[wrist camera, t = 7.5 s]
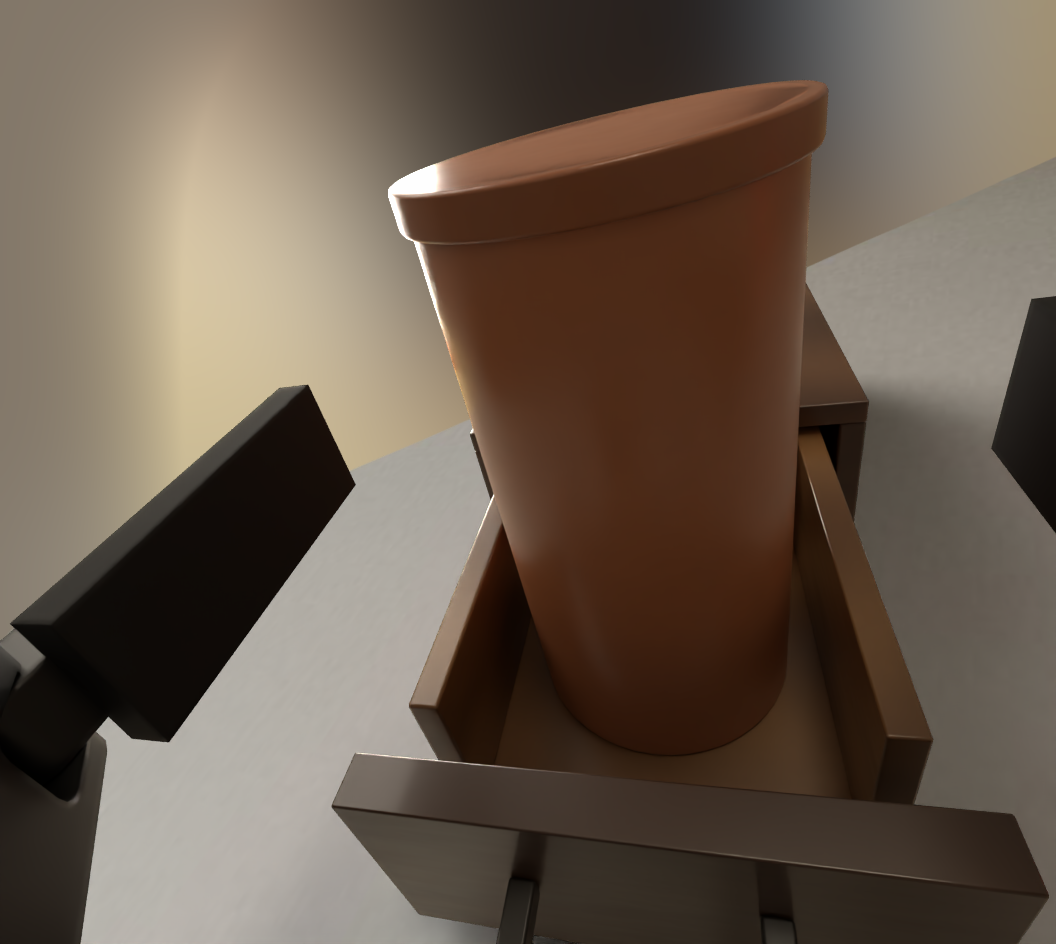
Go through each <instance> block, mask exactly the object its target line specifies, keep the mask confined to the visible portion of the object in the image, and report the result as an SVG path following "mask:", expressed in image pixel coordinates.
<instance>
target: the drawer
mask: <svg viewBox="0 0 1056 944" xmlns="http://www.w3.org/2000/svg"><path fill="white" fill-rule="evenodd" d="M409 708H410V710H411V712H412V713H413V715H414V717H415V719H416V721H417V722H418V724H419V726H420V728H421V730H422V731H423V733H424V735H425V737H426V738H427V740H428V742H429V744H430V746H431V747H432V749H433V751H434V753H435V755H436V756H437V758H438V760H429V759H419V758H408V757H397V756H386V755H376V754H365V753H355V755H354V757H353V759H352V761H351V764H350V766H349V768H348V770H347V772H346V775H345V777H344V779H343V781H342V784H341V786H340V788H339V790H338V792H337V795H336V797H335V799H334V801H333V804H332V808H333V810H334V811H335V812H336V813H337V814H338V816H339V817H340V818H341V819H342V821H343V822H344V823H345V824H346V825H347V827H348V828H349V829H350V830H351V832H352V833H353V834H354V835H355V836H356V838H357V839H358V840H359V841H360V843H361V844H362V845H363V846H364V848H365V849H366V850H367V851H368V852H369V854H370V855H371V856H372V857H373V859H374V860H375V861H376V862H377V863H378V865H379V866H380V867H381V868H382V870H383V871H384V872H385V873H386V874H387V876H388V877H389V878H390V879H391V881H392V882H393V883H394V884H395V885H396V887H397V888H398V889H399V890H400V892H401V893H402V894H403V895H404V896H405V898H406V899H407V900H408V901H409V903H410V904H411V905H412V906H413V908H414V909H415V910H416V911H417V912H418V914H420V915H425V916H431V917H436V918H442V919H447V920H453V921H459V922H464V923H470V924H475V925H481V926H486V927H492V928H498V929H499V932H498V937H497V942H496V944H532V941H533V935H537V936H542V937H548V938H553V939H559V940H564V941H570V942H576V943H581V944H1018V943H1019V941H1020V940H1021V939H1022V937H1023V936H1024V934H1025V933H1026V931H1027V930H1028V928H1029V927H1030V925H1031V924H1032V923H1033V921H1034V920H1035V918H1036V917H1037V915H1038V914H1039V912H1040V911H1041V909H1042V908H1043V906H1044V905H1045V904H1046V902H1047V901H1048V899H1049V894H1048V892H1047V889H1046V887H1045V885H1044V882H1043V880H1042V878H1041V875H1040V873H1039V871H1038V869H1037V866H1036V864H1035V862H1034V859H1033V857H1032V855H1031V852H1030V850H1029V848H1028V846H1027V843H1026V841H1025V839H1024V836H1023V834H1022V832H1021V829H1020V827H1019V825H1018V823H1017V820H1016V818H1015V816H1014V815H1013V814H1008V813H997V812H986V811H976V810H965V809H954V808H944V807H933V806H922V805H914V802H915V799H916V796H917V793H918V789H919V786H920V783H921V779H922V776H923V773H924V769H925V766H926V763H927V760H928V756H929V753H930V750H931V746H932V743H933V737H932V734H931V732H930V729H929V726H928V723H927V721H926V718H925V715H924V713H923V710H922V707H921V704H920V702H919V699H918V696H917V693H916V691H915V688H914V685H913V683H912V680H911V677H910V674H909V672H908V669H907V666H906V663H905V661H904V658H903V655H902V653H901V650H900V647H899V644H898V642H897V639H896V636H895V633H894V631H893V628H892V625H891V623H890V620H889V617H888V614H887V612H886V609H885V606H884V603H883V601H882V598H881V595H880V593H879V590H878V587H877V584H876V582H875V579H874V576H873V573H872V571H871V568H870V565H869V563H868V560H867V557H866V554H865V552H864V549H863V546H862V543H861V541H860V538H859V535H858V533H857V530H856V527H855V524H854V522H853V519H852V516H851V513H850V511H849V508H848V505H847V503H846V500H845V497H844V494H843V492H842V489H841V486H840V483H839V481H838V478H837V475H836V473H835V470H834V467H833V464H832V462H831V459H830V456H829V453H828V451H827V448H826V445H825V443H824V440H823V437H822V434H821V432H820V429H819V426H806V427H799V428H798V448H797V469H796V490H795V511H794V532H793V552H792V573H791V594H790V615H789V636H788V656H787V669H786V676H785V680H784V683H783V686H782V689H781V692H780V694H779V696H778V698H777V700H776V702H775V703H774V705H773V706H772V708H771V709H770V710H769V712H768V713H767V714H766V715H765V717H764V718H763V719H762V720H760V721H759V722H758V723H757V724H756V725H755V726H754V727H753V728H752V729H750V730H749V731H747V732H746V733H744V734H743V735H742V736H740V737H739V738H737V739H735V740H733V741H731V742H729V743H727V744H725V745H722V746H719V747H716V748H713V749H710V750H707V751H703V752H697V753H692V754H684V755H657V754H649V753H643V752H638V751H634V750H630V749H627V748H624V747H621V746H618V745H616V744H614V743H612V742H609V741H607V740H605V739H603V738H601V737H600V736H598V735H597V734H595V733H594V732H592V731H590V730H589V729H588V728H586V727H585V726H584V725H583V724H582V723H580V722H579V721H578V720H577V719H576V718H575V717H574V716H573V715H572V713H571V712H570V711H569V710H568V709H567V708H566V706H565V705H564V703H563V702H562V700H561V699H560V697H559V695H558V693H557V691H556V689H555V687H554V684H553V681H552V678H551V675H550V671H549V668H548V665H547V662H546V659H545V656H544V652H543V649H542V646H541V643H540V640H539V636H538V633H537V630H536V627H535V624H534V621H533V617H532V614H531V611H530V608H529V605H528V602H527V598H526V595H525V592H524V589H523V586H522V582H521V579H520V576H519V573H518V570H517V567H516V563H515V560H514V557H513V554H512V551H511V547H510V544H509V541H508V538H507V535H506V532H505V528H504V525H503V522H502V519H501V516H500V512H499V509H498V506H497V503H496V500H495V497H494V494H493V497H492V499H491V502H490V504H489V507H488V509H487V512H486V514H485V517H484V519H483V522H482V524H481V527H480V529H479V532H478V534H477V537H476V539H475V542H474V544H473V547H472V549H471V552H470V554H469V557H468V559H467V562H466V564H465V567H464V569H463V571H462V574H461V576H460V579H459V581H458V584H457V586H456V589H455V591H454V594H453V596H452V599H451V601H450V604H449V606H448V609H447V611H446V614H445V616H444V619H443V621H442V624H441V626H440V629H439V631H438V634H437V636H436V639H435V641H434V644H433V646H432V649H431V651H430V654H429V656H428V659H427V661H426V664H425V666H424V669H423V671H422V674H421V676H420V678H419V681H418V683H417V686H416V688H415V691H414V693H413V696H412V698H411V701H410V703H409Z"/></svg>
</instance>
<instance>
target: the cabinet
mask: <svg viewBox="0 0 1056 944" xmlns="http://www.w3.org/2000/svg"><path fill="white" fill-rule="evenodd" d="M868 406H869V401H868V399H867V397H866V395H865V393H864V391H863V389H862V388H861V386H860V384H859V382H858V380H857V378H856V376H855V374H854V372H853V371H852V369H851V367H850V365H849V363H848V361H847V359H846V357H845V356H844V354H843V352H842V350H841V348H840V346H839V344H838V342H837V340H836V339H835V337H834V335H833V333H832V331H831V329H830V327H829V325H828V323H827V322H826V320H825V318H824V316H823V314H822V312H821V310H820V308H819V307H818V305H817V303H816V301H815V299H814V297H813V295H812V293H811V291H810V290H809V288H808V286H807V284H806V282H805V303H804V324H803V344H802V365H801V386H800V407H799V427H806V426H819V429H820V432H821V434H822V437H823V440H824V443H825V445H826V448H827V451H828V453H829V456H830V459H831V462H832V464H833V467H834V470H835V473H836V475H837V478H838V481H839V483H840V486H841V489H842V492H843V494H844V497H845V500H846V503H847V505H848V508H849V511H850V513H851V516H852V519H853V522H854V518H855V510H856V502H857V494H858V485H859V477H860V469H861V461H862V453H863V445H864V437H865V428H866V423H865V422H866V421H867V414H868ZM470 437H471V440H472V443H473V446H474V449H475V451H476V455H477V459H478V462H479V465H480V468H481V471H482V474H483V477H484V480H485V484H486V487H487V490H488V493H489V496H490V499H492V497H493V494H494V493H493V490H492V487H491V484H490V481H489V477H488V474H487V471H486V468H485V465H484V462H483V458H482V455H481V452H480V449H479V446H478V442H477V439H476V436H475V433H474V430H472V431H471V433H470Z"/></svg>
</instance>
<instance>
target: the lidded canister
mask: <svg viewBox="0 0 1056 944" xmlns="http://www.w3.org/2000/svg"><path fill="white" fill-rule="evenodd" d="M827 104H828V88H827V86H826V84H824V83H822V82H817V81H809V80H798V81H782V82H773V83H764V84H757V85H750V86H743V87H737V88H730V89H724V90H719V91H713V92H708V93H702V94H697V95H692V96H687V97H681V98H676V99H671V100H667V101H662V102H657V103H652V104H648V105H643V106H639V107H634V108H630V109H626V110H622V111H617V112H613V113H609V114H605V115H600V116H596V117H592V118H588V119H584V120H580V121H576V122H572V123H568V124H564V125H561V126H557V127H553V128H550V129H546V130H542V131H538V132H535V133H531V134H528V135H524V136H521V137H517V138H513V139H510V140H507V141H503V142H500V143H497V144H493V145H491V146H487V147H484V148H480V149H477V150H474V151H471V152H468V153H465V154H462V155H459V156H456V157H453V158H450V159H448V160H445V161H442V162H439V163H437V164H434V165H432V166H429V167H427V168H424V169H422V170H419V171H417V172H415V173H412V174H410V175H408V176H406V177H404V178H402V179H401V180H399V181H398V182H396V183H395V184H393V185H392V186H391V187H390V189H389V199H390V202H391V205H392V208H393V211H394V214H395V218H396V221H397V224H398V227H399V230H400V232H401V233H402V235H403V236H404V237H406V238H407V239H409V240H412V241H414V242H415V245H416V248H417V252H418V255H419V258H420V261H421V264H422V268H423V271H424V274H425V277H426V280H427V283H428V287H429V290H430V293H431V296H432V299H433V303H434V306H435V309H436V312H437V315H438V318H439V321H440V325H441V328H442V331H443V334H444V338H445V341H446V344H447V347H448V350H449V353H450V356H451V360H452V363H453V366H454V369H455V373H456V376H457V379H458V382H459V385H460V388H461V392H462V395H463V398H464V401H465V404H466V407H467V411H468V414H469V417H470V420H471V423H472V427H473V430H474V433H475V436H476V439H477V442H478V446H479V449H480V452H481V455H482V458H483V462H484V465H485V468H486V471H487V474H488V477H489V481H490V484H491V487H492V490H493V493H494V497H495V500H496V503H497V506H498V509H499V512H500V516H501V519H502V522H503V525H504V528H505V532H506V535H507V538H508V541H509V544H510V547H511V551H512V554H513V557H514V560H515V563H516V567H517V570H518V573H519V576H520V579H521V582H522V586H523V589H524V592H525V595H526V598H527V602H528V605H529V608H530V611H531V614H532V617H533V621H534V624H535V627H536V630H537V633H538V636H539V640H540V643H541V646H542V649H543V652H544V656H545V659H546V662H547V665H548V668H549V671H550V675H551V678H552V681H553V684H554V687H555V689H556V691H557V693H558V695H559V697H560V699H561V700H562V702H563V703H564V705H565V706H566V708H567V709H568V710H569V711H570V712H571V713H572V715H573V716H574V717H575V718H576V719H577V720H578V721H579V722H580V723H582V724H583V725H584V726H585V727H586V728H588V729H589V730H590V731H592V732H594V733H595V734H597V735H598V736H600V737H601V738H603V739H605V740H607V741H609V742H612V743H614V744H616V745H618V746H621V747H624V748H627V749H630V750H634V751H638V752H643V753H649V754H657V755H684V754H692V753H697V752H703V751H707V750H710V749H713V748H716V747H719V746H722V745H725V744H727V743H729V742H731V741H733V740H735V739H737V738H739V737H740V736H742V735H743V734H744V733H746V732H747V731H749V730H750V729H752V728H753V727H754V726H755V725H756V724H757V723H758V722H759V721H760V720H762V719H763V718H764V717H765V715H766V714H767V713H768V712H769V710H770V709H771V708H772V706H773V705H774V703H775V702H776V700H777V698H778V696H779V694H780V692H781V689H782V686H783V683H784V680H785V676H786V669H787V656H788V636H789V615H790V594H791V573H792V552H793V532H794V511H795V490H796V469H797V448H798V428H799V407H800V386H801V365H802V344H803V324H804V303H805V282H806V261H807V239H808V220H809V198H810V178H811V157H812V153H813V152H814V151H815V150H816V149H817V148H818V147H819V146H820V145H821V144H822V142H823V140H824V137H825V135H826V122H827Z"/></svg>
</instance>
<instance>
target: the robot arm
mask: <svg viewBox="0 0 1056 944" xmlns="http://www.w3.org/2000/svg"><path fill="white" fill-rule="evenodd" d="M991 449H992V450H993V451H994V453H995V454H996V455H997V457H998V458H999V459H1000V461H1001V462H1002V463H1003V465H1004V466H1005V467H1006V468H1007V470H1008V471H1009V472H1010V474H1011V475H1012V476H1013V478H1014V479H1015V480H1016V482H1017V483H1018V484H1019V486H1020V487H1021V488H1022V490H1023V491H1024V492H1025V493H1026V495H1027V496H1028V497H1029V499H1030V500H1031V501H1032V503H1033V504H1034V505H1035V507H1036V508H1037V509H1038V511H1039V512H1040V513H1041V515H1042V516H1043V517H1044V518H1045V520H1046V521H1047V522H1048V524H1049V525H1050V526H1051V528H1052V529H1053V530H1054V532H1055V533H1056V296H1053V297H1045V298H1036V299H1031V303H1030V306H1029V310H1028V314H1027V318H1026V321H1025V325H1024V329H1023V332H1022V336H1021V340H1020V344H1019V347H1018V351H1017V355H1016V358H1015V362H1014V366H1013V370H1012V373H1011V377H1010V381H1009V384H1008V388H1007V392H1006V396H1005V399H1004V403H1003V407H1002V410H1001V414H1000V418H999V422H998V425H997V429H996V433H995V436H994V440H993V444H992V448H991ZM355 485H356V484H355V482H354V480H353V478H352V476H351V474H350V472H349V470H348V468H347V465H346V463H345V461H344V459H343V457H342V455H341V453H340V451H339V449H338V446H337V444H336V442H335V441H334V438H333V436H332V434H331V432H330V430H329V428H328V425H327V423H326V421H325V419H324V417H323V415H322V413H321V411H320V409H319V406H318V404H317V402H316V400H315V398H314V396H313V394H312V392H311V390H310V387H309V386H308V385H302V386H293V387H284V388H279V389H278V390H276V391H275V392H274V393H273V394H272V395H271V396H270V397H268V398H267V399H266V400H265V401H264V402H263V403H262V404H261V405H260V406H258V407H257V408H256V409H255V410H254V411H253V412H252V413H250V414H249V415H248V416H247V417H246V418H245V419H243V420H242V421H241V422H240V423H239V424H238V425H237V426H235V427H234V428H233V429H232V430H231V431H230V432H228V433H227V434H226V435H225V436H224V437H223V438H222V439H220V440H219V441H218V442H217V443H216V444H215V445H214V446H213V447H211V448H210V449H209V450H208V451H207V452H206V453H204V454H203V455H202V456H201V457H200V458H199V459H198V460H197V461H195V462H194V463H193V464H192V465H191V466H190V467H188V468H187V469H186V470H185V471H184V472H183V473H182V474H181V475H179V476H178V477H177V478H176V479H175V480H174V481H172V482H171V483H170V484H169V485H168V486H167V487H166V488H164V489H163V490H162V491H161V492H160V493H159V494H158V495H157V496H155V497H154V498H153V499H152V500H151V501H150V502H148V503H147V504H146V505H145V506H144V507H143V508H142V509H140V511H138V512H137V513H136V514H135V515H134V516H132V517H131V518H130V519H129V520H128V521H127V522H126V523H124V524H123V525H122V526H121V527H120V528H119V529H118V530H116V531H115V532H114V533H113V534H112V535H111V536H110V537H108V538H107V539H106V540H105V541H104V542H103V543H102V544H100V545H99V546H98V547H97V548H96V549H95V550H94V551H92V552H91V553H90V554H89V555H88V556H87V557H86V558H84V559H83V560H82V561H81V562H80V563H79V564H78V565H76V566H75V567H74V568H73V569H72V570H71V571H70V572H68V574H66V575H65V576H64V577H63V578H62V579H60V581H58V582H57V583H56V584H55V585H54V586H52V587H51V588H50V589H49V590H48V591H47V592H46V593H44V594H43V595H42V596H41V597H40V598H39V599H38V600H37V601H35V602H34V603H33V604H32V605H31V606H30V607H29V608H27V609H26V610H25V611H24V612H23V613H22V614H20V615H19V616H18V617H17V618H16V619H15V620H14V621H13V622H11V623H10V624H11V625H12V626H13V627H14V628H15V629H13V630H12V631H11V632H10V633H9V634H8V635H7V636H5V637H4V638H3V639H2V640H1V641H0V944H80V943H81V936H82V929H83V922H84V915H85V907H86V900H87V893H88V886H89V879H90V871H91V864H92V857H93V850H94V843H95V835H96V828H97V821H98V814H99V806H100V799H101V792H102V785H103V778H104V770H105V763H106V756H107V746H106V740H105V739H103V738H102V737H101V736H100V735H99V734H98V733H97V732H96V731H97V729H98V728H99V727H100V726H101V725H102V723H103V722H104V721H105V720H106V719H107V718H108V717H109V718H111V719H112V720H113V721H114V722H115V723H116V724H117V725H118V726H119V727H120V728H121V729H122V730H123V731H124V732H125V733H126V734H127V735H129V736H130V737H131V738H132V739H141V740H150V741H160V742H170V740H171V739H172V738H173V736H174V735H175V734H176V732H177V731H178V729H179V728H180V727H181V725H182V724H183V722H184V721H185V720H186V718H187V717H188V716H189V714H190V713H191V711H192V710H193V709H194V707H195V706H196V705H197V703H198V702H199V700H200V699H201V698H202V696H203V695H204V693H205V692H206V691H207V689H208V688H209V687H210V685H211V684H212V682H213V681H214V680H215V678H216V677H217V676H218V674H219V673H220V671H221V670H222V669H223V667H224V666H225V665H226V663H227V662H228V660H229V659H230V658H231V656H232V655H233V653H234V652H235V651H236V649H237V648H238V647H239V645H240V644H241V642H242V641H243V640H244V638H245V637H246V636H247V634H248V633H249V631H250V630H251V629H252V627H253V626H254V624H255V623H256V622H257V620H258V619H259V618H260V616H261V615H262V613H263V612H264V611H265V609H266V608H267V607H268V605H269V604H270V602H271V601H272V600H273V598H274V597H275V595H276V594H277V593H278V591H279V590H280V589H281V587H282V586H283V584H284V583H285V582H286V580H287V579H288V578H289V576H290V575H291V573H292V572H293V571H294V569H295V568H296V567H297V565H298V564H299V562H300V561H301V560H302V558H303V557H304V555H305V554H306V553H307V551H308V550H309V549H310V547H311V546H312V544H313V543H314V542H315V540H316V539H317V538H318V536H319V535H320V533H321V532H322V531H323V529H324V528H325V526H326V525H327V524H328V522H329V521H330V520H331V518H332V517H333V515H334V514H335V513H336V511H337V510H338V509H339V507H340V506H341V504H342V503H343V502H344V500H345V499H346V498H347V496H348V495H349V493H350V492H351V491H352V489H353V488H354V486H355Z"/></svg>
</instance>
